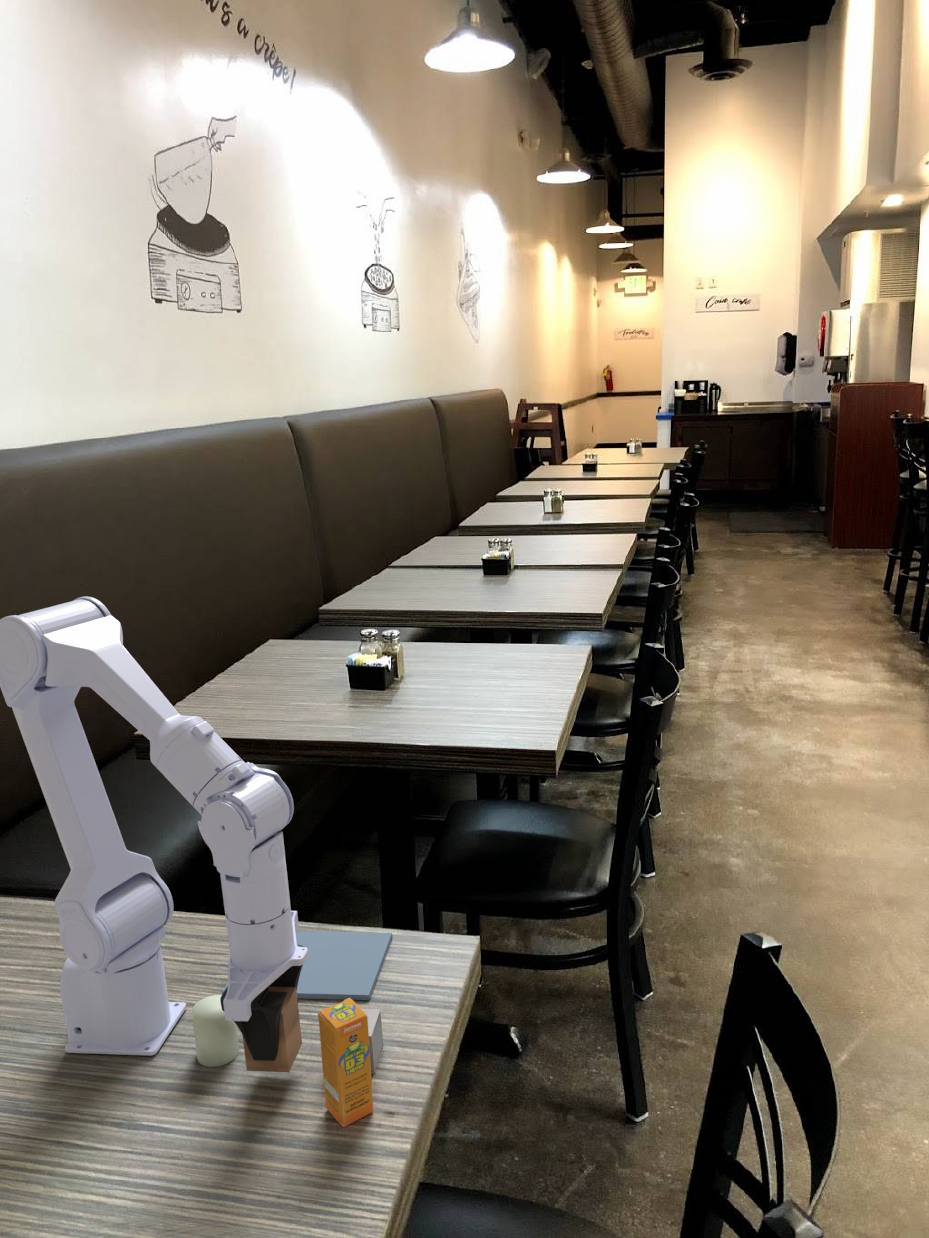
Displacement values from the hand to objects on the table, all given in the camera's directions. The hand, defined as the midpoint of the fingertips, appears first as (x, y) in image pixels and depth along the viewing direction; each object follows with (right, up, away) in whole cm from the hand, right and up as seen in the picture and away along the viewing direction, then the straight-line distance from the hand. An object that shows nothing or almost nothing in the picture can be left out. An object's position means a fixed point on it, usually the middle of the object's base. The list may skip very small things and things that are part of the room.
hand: (273, 1041), depth 90 cm
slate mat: (+1, 0, +18) cm, 18 cm away
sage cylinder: (-6, -3, +5) cm, 8 cm away
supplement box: (+8, -5, -4) cm, 10 cm away
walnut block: (0, -2, 0) cm, 2 cm away
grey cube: (+8, -3, +3) cm, 9 cm away
